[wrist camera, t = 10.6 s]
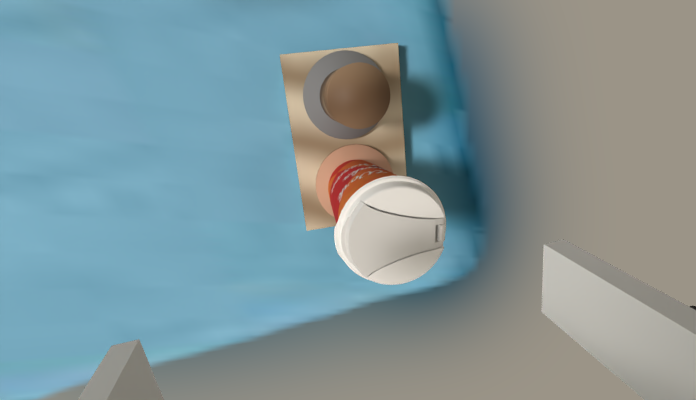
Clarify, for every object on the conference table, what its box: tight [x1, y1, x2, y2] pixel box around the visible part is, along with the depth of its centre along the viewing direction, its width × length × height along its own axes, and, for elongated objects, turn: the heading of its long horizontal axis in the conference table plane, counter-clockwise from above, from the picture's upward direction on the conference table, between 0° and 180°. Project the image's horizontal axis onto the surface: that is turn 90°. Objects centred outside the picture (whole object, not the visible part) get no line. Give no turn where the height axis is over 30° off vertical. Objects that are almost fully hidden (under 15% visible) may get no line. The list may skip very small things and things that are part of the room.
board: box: [280, 43, 407, 231], centre depth 36 cm, size 17×11×1 cm, turn 6°
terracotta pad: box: [316, 144, 393, 217], centre depth 37 cm, size 8×8×1 cm
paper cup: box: [328, 160, 446, 285], centre depth 30 cm, size 8×8×14 cm
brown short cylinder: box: [320, 62, 390, 129], centre depth 31 cm, size 5×5×6 cm
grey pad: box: [303, 50, 381, 139], centre depth 34 cm, size 8×8×1 cm
